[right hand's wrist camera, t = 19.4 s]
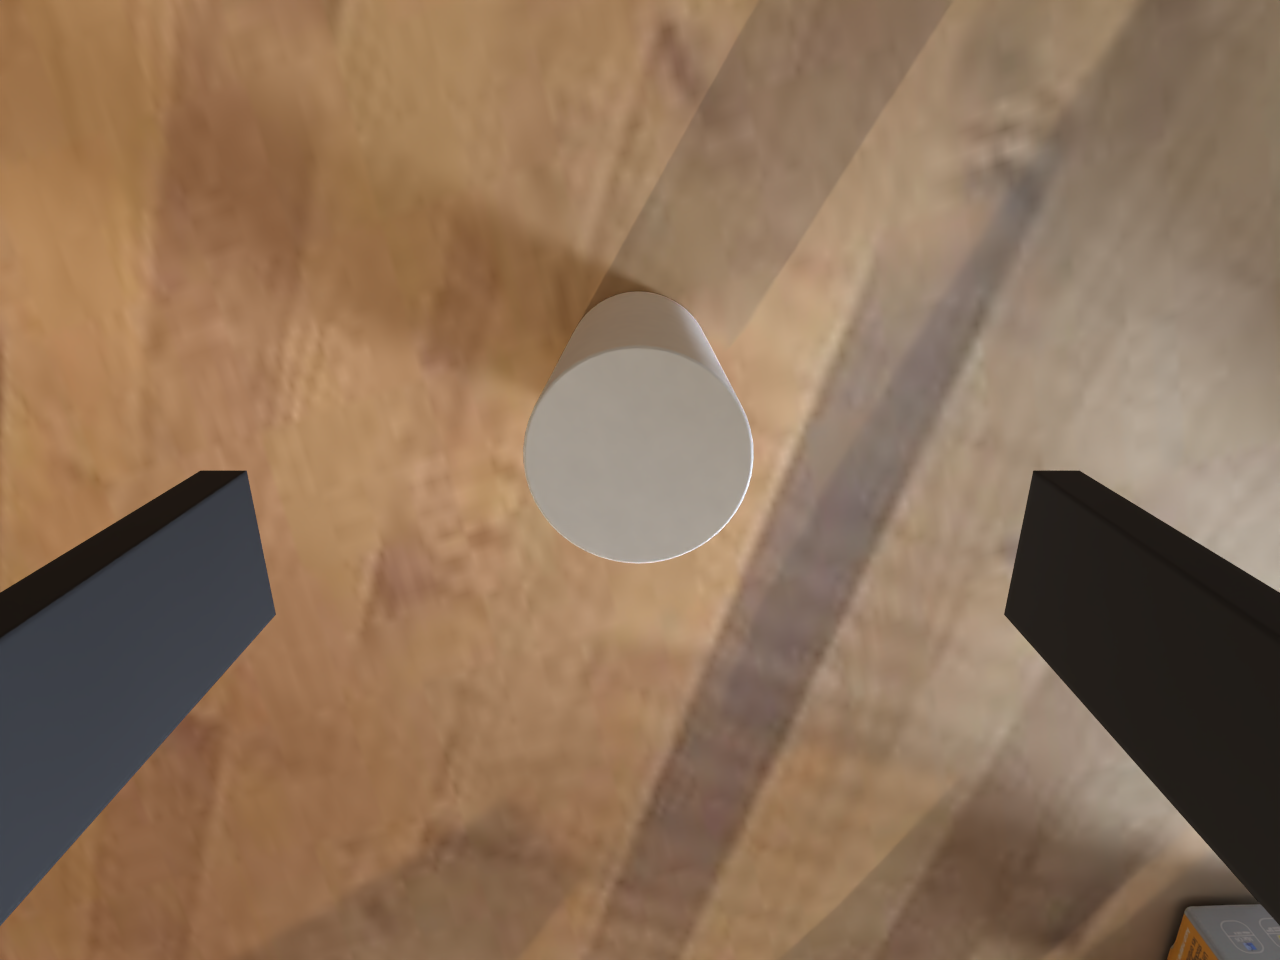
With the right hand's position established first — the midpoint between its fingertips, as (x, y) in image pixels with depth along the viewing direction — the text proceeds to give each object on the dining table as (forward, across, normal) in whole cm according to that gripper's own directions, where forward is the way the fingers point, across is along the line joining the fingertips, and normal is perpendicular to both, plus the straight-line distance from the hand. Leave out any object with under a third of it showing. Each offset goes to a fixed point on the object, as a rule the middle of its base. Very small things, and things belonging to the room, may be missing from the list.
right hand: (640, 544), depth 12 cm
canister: (+16, 0, 0) cm, 16 cm away
